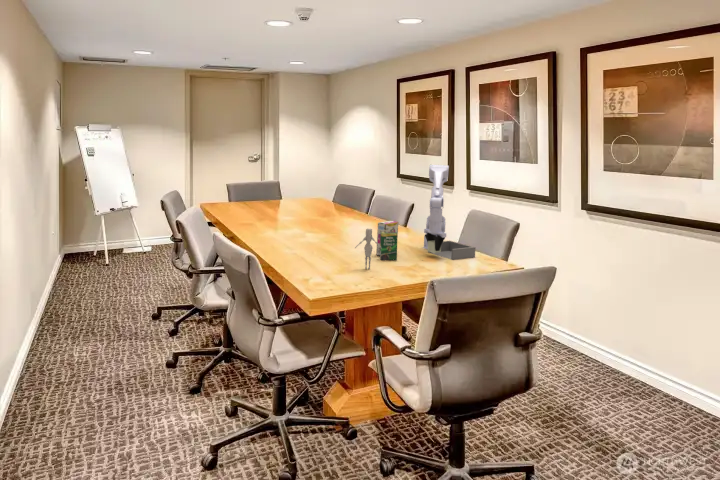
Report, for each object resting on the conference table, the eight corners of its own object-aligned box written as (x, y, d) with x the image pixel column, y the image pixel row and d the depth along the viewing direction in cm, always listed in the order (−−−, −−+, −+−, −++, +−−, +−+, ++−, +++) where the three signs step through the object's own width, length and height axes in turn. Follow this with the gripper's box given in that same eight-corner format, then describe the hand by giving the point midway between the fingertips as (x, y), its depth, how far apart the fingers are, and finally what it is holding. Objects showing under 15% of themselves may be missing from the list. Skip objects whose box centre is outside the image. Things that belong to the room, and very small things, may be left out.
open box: (428, 253, 282) (428, 242, 281) (449, 251, 289) (450, 240, 288) (452, 261, 266) (453, 249, 265) (474, 258, 273) (475, 247, 272)
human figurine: (380, 268, 247) (382, 228, 244) (381, 270, 244) (383, 229, 240) (353, 268, 246) (354, 227, 243) (354, 270, 242) (355, 229, 239)
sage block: (427, 251, 272) (428, 241, 271) (434, 250, 274) (435, 240, 273) (433, 252, 268) (433, 242, 267) (440, 252, 271) (441, 241, 270)
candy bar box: (384, 257, 270) (385, 223, 267) (375, 255, 273) (377, 222, 270) (397, 253, 279) (398, 221, 276) (389, 252, 282) (390, 220, 279)
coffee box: (379, 260, 263) (380, 232, 261) (379, 259, 266) (380, 231, 264) (396, 260, 263) (398, 233, 261) (396, 259, 266) (397, 232, 264)
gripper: (419, 220, 273) (418, 247, 275) (438, 224, 261) (437, 253, 263) (431, 219, 276) (429, 246, 279) (450, 223, 264) (448, 252, 267)
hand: (434, 249), depth 271 cm, fingers closed on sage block, 4 cm apart
